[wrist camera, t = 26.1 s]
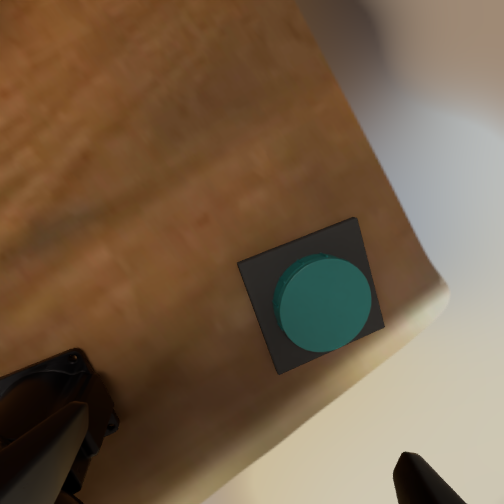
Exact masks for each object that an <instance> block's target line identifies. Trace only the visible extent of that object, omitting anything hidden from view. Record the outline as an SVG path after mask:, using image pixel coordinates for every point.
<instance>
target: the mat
mask: <svg viewBox="0 0 504 504" xmlns="http://www.w3.org/2000/svg"><path fill="white" fill-rule="evenodd" d="M320 253H323V254H328V255H333V256H335V257H338V258H340V259H341V258H342V259H345V260H347V261H349V262H350V263H351V264H353V265H354V266H356V267H357V268H358V269H359V270H360V271H361V272H362V273H363V274H364V276H365V278H366V279H367V281H368V284H369V287H370V291H371V308H370V313H369V316H368V318H367V321H366V323H365V325H364V327H363V328H362V329H361V331H360V332H359V333H358V334H357V336H356V337H355V338H353V339H352V340H351V341H350V342H349V343H351V342H353V341H355V340H358V339H360V338H362V337H364V336H366V335H369V334H371V333H373V332H375V331H377V330H380V329H382V328H384V327H385V326H384V322H383V318H382V314H381V310H380V306H379V302H378V298H377V294H376V290H375V286H374V283H373V279H372V275H371V271H370V267H369V263H368V259H367V255H366V251H365V247H364V243H363V239H362V235H361V231H360V228H359V224H358V220H357V218H355V217H352V218H349V219H347V220H344V221H342V222H339V223H336V224H334V225H331V226H329V227H326V228H324V229H321V230H319V231H316V232H314V233H311V234H308V235H306V236H303V237H301V238H298V239H296V240H293V241H291V242H288V243H286V244H283V245H280V246H278V247H275V248H273V249H270V250H268V251H265V252H263V253H260V254H258V255H255V256H253V257H250V258H247V259H245V260H242V261H240V262H237V265H238V268H239V271H240V273H241V276H242V279H243V282H244V284H245V287H246V290H247V292H248V295H249V298H250V301H251V303H252V306H253V309H254V311H255V314H256V317H257V320H258V322H259V325H260V328H261V330H262V333H263V336H264V339H265V341H266V344H267V347H268V349H269V352H270V355H271V358H272V360H273V363H274V366H275V368H276V371H277V373H278V375H280V374H283V373H285V372H287V371H289V370H291V369H294V368H296V367H298V366H300V365H302V364H305V363H307V362H309V361H311V360H313V359H316V358H318V357H320V356H322V355H324V354H327V353H329V352H331V351H327V352H312V351H308V350H305V349H303V348H301V347H299V346H297V345H296V344H295V343H293V342H292V341H291V340H290V338H289V337H288V336H287V335H286V333H285V332H284V331H282V330H281V328H280V327H279V325H278V324H277V323H278V321H277V319H276V317H275V314H274V309H273V303H272V300H273V297H274V292H275V288H276V285H277V283H278V281H279V277H281V276H282V274H283V273H284V272H285V271H286V269H287V268H288V267H289V266H291V265H292V264H293V263H294V262H296V261H297V259H298V260H299V259H301V258H303V257H306V256H309V255H313V254H320ZM349 343H347V344H349ZM347 344H346V345H347ZM332 351H333V350H332Z"/></svg>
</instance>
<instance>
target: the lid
mask: <svg viewBox="0 0 504 504" xmlns="http://www.w3.org/2000/svg"><path fill="white" fill-rule="evenodd" d="M272 303H273V309H274V314H275V317H276V319H277V321H278V323H277V324H278V325H279V327H280V328H281V330H282V331H284V332H285V333H286V335H287V336H288V337H289V338H290V340H291V341H292V342H293V343H295V344H296V345H297V346H299V347H301V348H303V349H305V350H308V351H312V352H327V351H332V350H335V349H338V348H340V347H342V346H344V345H346V344H347V343H349V342H350V341H351V340H352V339H353V338H355V337H356V336H357V334H358V333H359V332H360V331H361V329H362V328H363V327H364V325H365V323H366V321H367V318H368V316H369V313H370V308H371V291H370V287H369V284H368V281H367V279H366V278H365V276H364V274H363V273H362V272H361V271H360V270H359V269H358V268H357V267H356V266H354V265H353V264H351V263H350V262H349V261H347V260H345V259H342V258H341V259H340V258H338V257H335V256H333V255H328V254H323V253H320V254H313V255H309V256H306V257H303V258H301V259H299V260H298V259H297V261H296V262H294V263H293V264H292V265H291V266H289V267H288V268H287V269H286V271H285V272H284V273H283V274H282V276H281V277H279V281H278V283H277V285H276V288H275V292H274V297H273V300H272Z"/></svg>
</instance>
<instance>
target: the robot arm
mask: <svg viewBox="0 0 504 504" xmlns="http://www.w3.org/2000/svg"><path fill="white" fill-rule="evenodd" d="M70 355H75V356H76V357H77V359H72V358H71V356H70ZM113 407H114V403H113V401H112V399H111V397H110V395H109V393H108V392H107V390H106V388H105V386H104V384H103V382H102V380H101V379H100V377H99V375H97V374H95V373H94V372H93V370H92V369H91V367H90V365H89V363H88V361H87V359H86V358H85V356H84V354H83V352H82V351H81V350H80V349H78V348H73V349H69V350H67V351H64V352H62V353H59V354H57V355H54V356H52V357H49V358H47V359H45V360H42V361H40V362H37V363H35V364H32V365H30V366H27V367H25V368H22V369H20V370H17V371H15V372H12V373H10V374H7V375H5V376H2V377H0V504H84V503H83V502H81V501H80V500H79V499H78V498H77V497H75V496H74V495H73V494H75V493H77V492H78V491H80V490H81V487H82V484H83V482H84V479H85V476H86V473H87V470H88V467H89V464H90V461H91V458H92V457H93V456H96V455H97V454H98V452H99V450H100V447H101V444H102V441H103V438H104V437H105V436H108V435H110V434H112V433H114V432H116V431H117V430H118V427H119V423H120V421H119V418H118V416H117V415H116V413H115V411H114V409H113ZM108 424H114V426H109V425H108ZM393 481H394V485H395V489H396V494H397V499H398V503H399V504H466V503H465V502H464V501H463V500H462V499H461V498H460V496H459V495H457V493H456V492H455V491H454V490H453V489H452V488H451V487H450V486H449V485H448V484H447V483H446V482H445V481H444V480H443V479H442V478H441V477H440V476H439V475H438V474H437V473H436V472H435V470H434V469H432V467H431V466H430V465H429V464H428V463H427V462H426V461H425V460H424V459H423V458H422V457H421V456H420V455H418V454H416V453H410V452H403V453H402V454H401V456H400V458H399V460H398V462H397V464H396V466H395V468H394V471H393Z"/></svg>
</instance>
